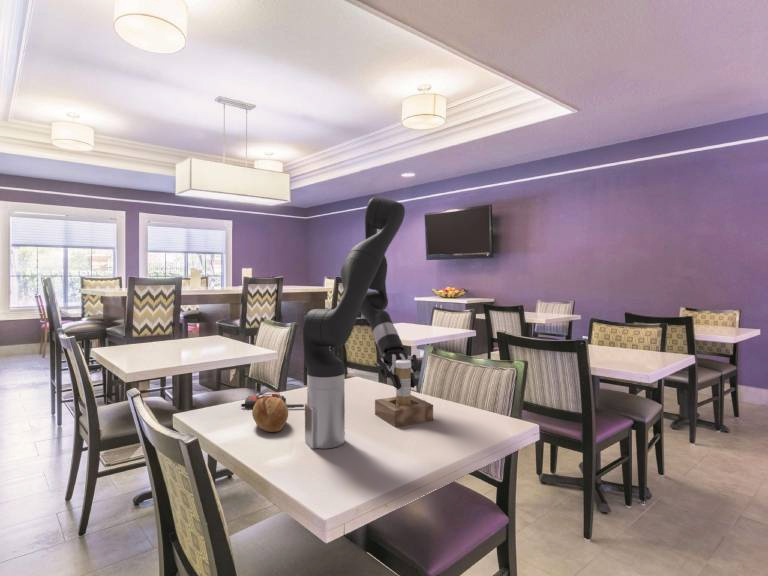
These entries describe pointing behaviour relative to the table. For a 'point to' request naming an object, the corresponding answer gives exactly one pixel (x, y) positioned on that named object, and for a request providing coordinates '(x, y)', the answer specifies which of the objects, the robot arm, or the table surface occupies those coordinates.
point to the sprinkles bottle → (403, 382)
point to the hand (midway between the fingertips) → (406, 386)
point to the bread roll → (270, 413)
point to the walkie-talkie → (252, 400)
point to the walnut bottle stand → (403, 411)
